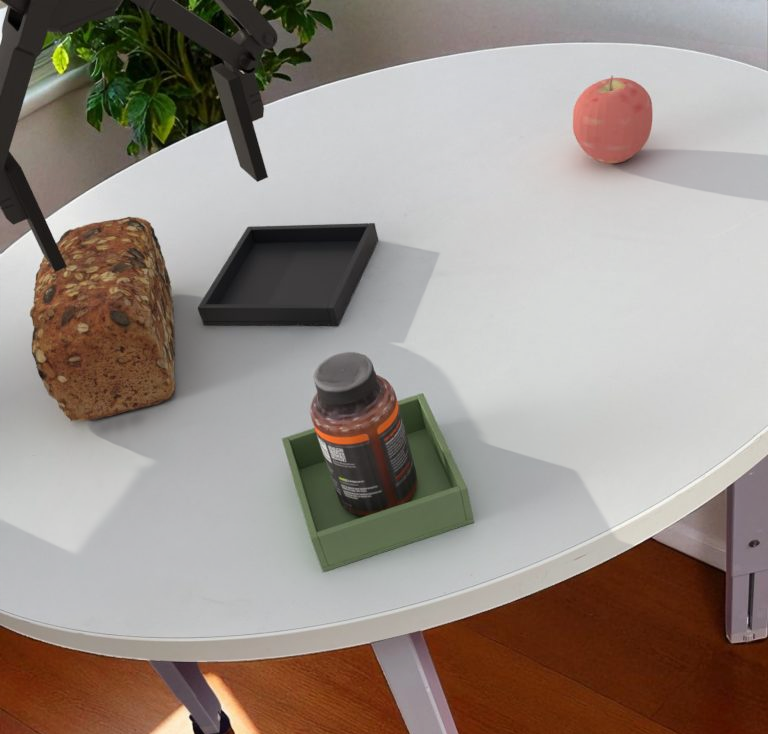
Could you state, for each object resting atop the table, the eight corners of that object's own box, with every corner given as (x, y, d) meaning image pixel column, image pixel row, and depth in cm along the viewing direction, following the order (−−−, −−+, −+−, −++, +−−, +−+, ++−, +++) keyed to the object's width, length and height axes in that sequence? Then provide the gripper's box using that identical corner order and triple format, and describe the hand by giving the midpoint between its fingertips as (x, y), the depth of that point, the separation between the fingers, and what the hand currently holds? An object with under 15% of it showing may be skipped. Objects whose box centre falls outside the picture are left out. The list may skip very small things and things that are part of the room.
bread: (183, 402, 90) (141, 305, 83) (62, 433, 90) (9, 339, 83) (180, 283, 103) (143, 191, 96) (74, 311, 104) (29, 221, 97)
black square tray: (203, 325, 98) (197, 308, 96) (252, 243, 106) (247, 226, 105) (338, 325, 93) (333, 308, 92) (378, 240, 102) (374, 222, 100)
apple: (581, 140, 107) (576, 61, 101) (657, 136, 105) (655, 55, 99) (570, 179, 102) (563, 99, 97) (649, 176, 100) (647, 93, 94)
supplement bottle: (418, 457, 79) (389, 335, 71) (420, 515, 75) (389, 392, 67) (339, 469, 80) (301, 349, 72) (337, 527, 76) (296, 406, 68)
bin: (322, 572, 74) (310, 539, 71) (293, 471, 81) (281, 438, 79) (474, 522, 74) (467, 488, 72) (430, 426, 82) (422, 392, 79)
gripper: (-241, -72, 46) (-20, 328, 61) (273, -247, 51) (359, 157, 66) (-257, -104, 51) (-49, 272, 66) (214, -261, 56) (306, 118, 71)
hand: (156, 215), depth 66 cm, fingers open, 13 cm apart
